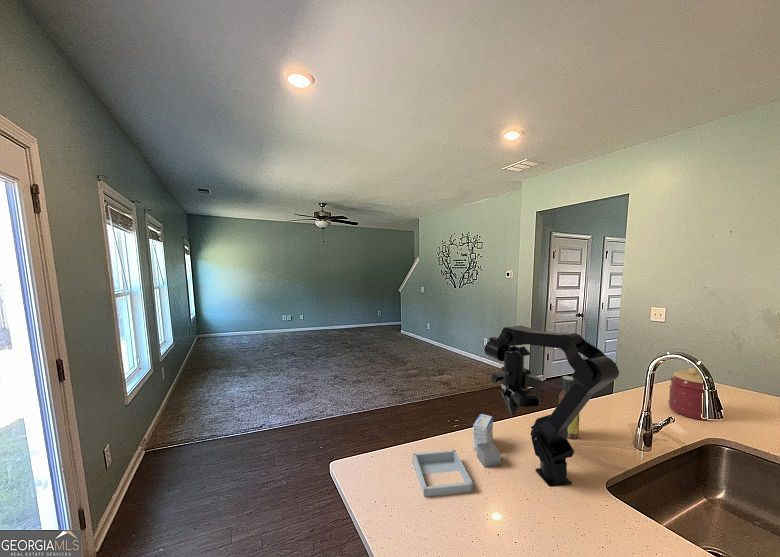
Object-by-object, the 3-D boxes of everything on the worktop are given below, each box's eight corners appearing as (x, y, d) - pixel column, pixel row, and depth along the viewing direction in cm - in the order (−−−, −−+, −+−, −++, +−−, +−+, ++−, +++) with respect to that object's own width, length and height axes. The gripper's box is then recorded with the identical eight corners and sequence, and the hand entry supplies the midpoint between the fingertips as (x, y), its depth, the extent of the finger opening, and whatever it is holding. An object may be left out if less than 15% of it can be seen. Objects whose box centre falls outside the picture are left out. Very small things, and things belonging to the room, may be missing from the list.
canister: (680, 417, 115) (683, 372, 113) (661, 402, 127) (663, 361, 126) (724, 423, 111) (727, 376, 110) (699, 406, 123) (702, 364, 122)
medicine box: (487, 454, 94) (487, 427, 94) (472, 450, 97) (473, 423, 96) (492, 441, 101) (493, 416, 100) (479, 437, 103) (479, 412, 103)
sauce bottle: (582, 440, 101) (584, 382, 100) (561, 438, 102) (563, 381, 101) (574, 429, 107) (576, 375, 106) (555, 427, 108) (556, 374, 107)
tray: (473, 497, 77) (473, 484, 77) (424, 502, 76) (424, 489, 76) (455, 460, 91) (455, 449, 91) (412, 464, 90) (412, 453, 90)
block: (500, 465, 88) (500, 452, 88) (484, 467, 87) (484, 454, 87) (492, 454, 93) (492, 442, 93) (476, 456, 92) (477, 443, 92)
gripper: (557, 376, 86) (556, 429, 87) (521, 355, 104) (520, 399, 105) (521, 378, 84) (519, 432, 85) (490, 356, 103) (490, 401, 104)
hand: (512, 414), depth 95 cm, fingers closed
